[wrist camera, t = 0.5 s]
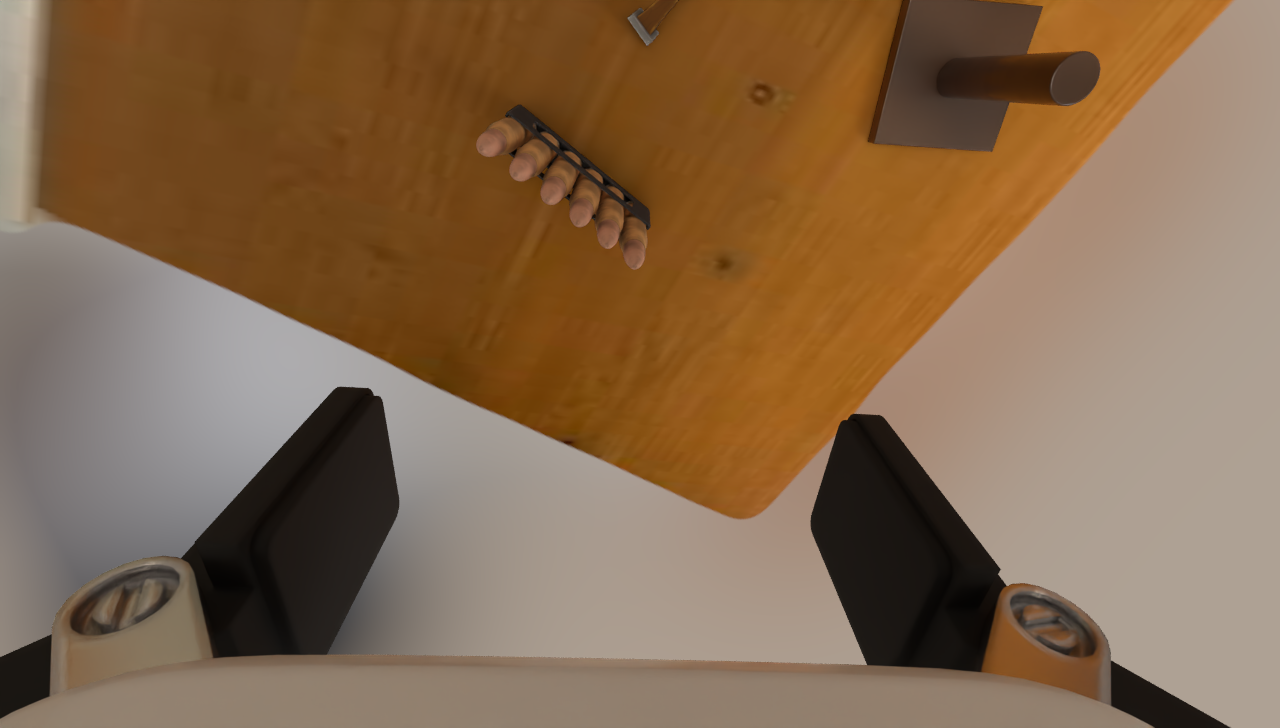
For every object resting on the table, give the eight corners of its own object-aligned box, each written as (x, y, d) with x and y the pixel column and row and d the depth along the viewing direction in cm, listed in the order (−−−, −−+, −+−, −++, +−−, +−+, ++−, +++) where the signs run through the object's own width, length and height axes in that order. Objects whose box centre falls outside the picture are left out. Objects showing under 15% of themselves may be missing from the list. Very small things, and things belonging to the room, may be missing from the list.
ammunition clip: (650, 210, 37) (661, 263, 27) (633, 231, 38) (638, 291, 27) (519, 103, 34) (472, 116, 23) (503, 128, 35) (451, 152, 24)
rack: (903, -3, 32) (1026, -38, 22) (1032, 8, 32) (1207, -21, 23) (867, 141, 36) (959, 166, 26) (983, 149, 36) (1116, 177, 26)
